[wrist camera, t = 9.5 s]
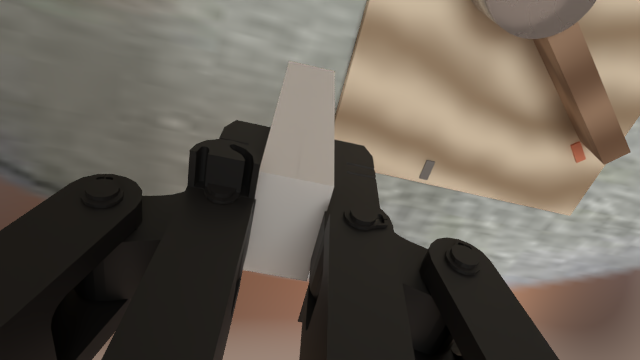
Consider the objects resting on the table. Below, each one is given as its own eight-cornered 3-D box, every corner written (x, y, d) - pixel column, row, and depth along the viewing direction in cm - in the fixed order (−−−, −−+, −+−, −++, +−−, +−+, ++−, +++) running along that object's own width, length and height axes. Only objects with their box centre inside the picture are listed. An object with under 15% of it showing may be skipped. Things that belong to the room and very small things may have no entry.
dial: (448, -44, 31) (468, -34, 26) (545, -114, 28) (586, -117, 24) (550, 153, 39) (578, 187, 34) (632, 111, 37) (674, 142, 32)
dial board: (472, -376, 24) (481, -394, 22) (861, -236, 26) (892, -244, 25) (324, 153, 42) (324, 162, 40) (563, 206, 44) (570, 216, 43)
